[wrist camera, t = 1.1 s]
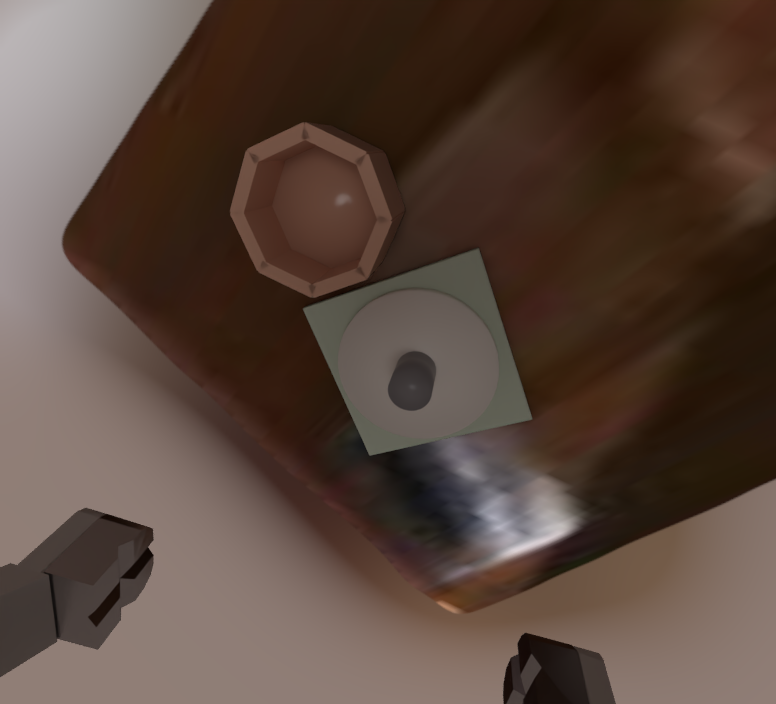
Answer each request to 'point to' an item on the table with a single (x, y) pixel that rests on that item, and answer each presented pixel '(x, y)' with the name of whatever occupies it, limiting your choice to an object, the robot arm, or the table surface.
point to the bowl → (316, 208)
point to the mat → (449, 276)
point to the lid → (419, 363)
